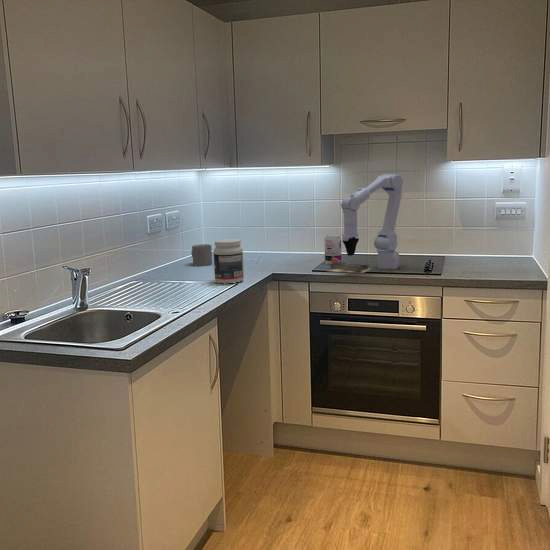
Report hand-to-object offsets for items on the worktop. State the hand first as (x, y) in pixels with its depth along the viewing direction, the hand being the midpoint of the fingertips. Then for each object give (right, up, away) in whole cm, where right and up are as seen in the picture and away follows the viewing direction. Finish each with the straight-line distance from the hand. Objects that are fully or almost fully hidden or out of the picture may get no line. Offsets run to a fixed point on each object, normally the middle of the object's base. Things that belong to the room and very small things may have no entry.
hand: (350, 255), depth 276 cm
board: (0, -8, +11) cm, 13 cm away
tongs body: (+1, -6, +12) cm, 14 cm away
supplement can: (-5, -5, +30) cm, 30 cm away
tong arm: (+1, -6, +10) cm, 12 cm away
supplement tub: (-54, -12, -2) cm, 55 cm away
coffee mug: (-72, -4, +48) cm, 87 cm away
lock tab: (-6, -3, +15) cm, 16 cm away
